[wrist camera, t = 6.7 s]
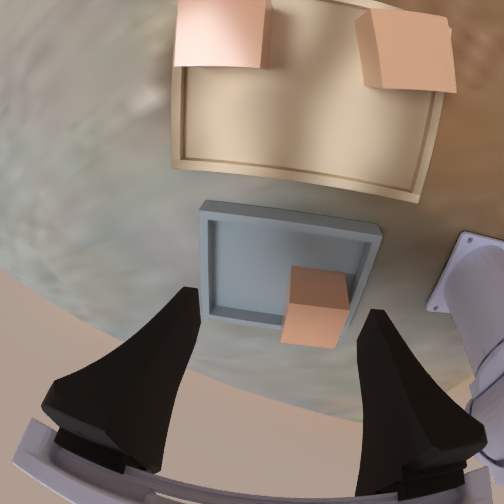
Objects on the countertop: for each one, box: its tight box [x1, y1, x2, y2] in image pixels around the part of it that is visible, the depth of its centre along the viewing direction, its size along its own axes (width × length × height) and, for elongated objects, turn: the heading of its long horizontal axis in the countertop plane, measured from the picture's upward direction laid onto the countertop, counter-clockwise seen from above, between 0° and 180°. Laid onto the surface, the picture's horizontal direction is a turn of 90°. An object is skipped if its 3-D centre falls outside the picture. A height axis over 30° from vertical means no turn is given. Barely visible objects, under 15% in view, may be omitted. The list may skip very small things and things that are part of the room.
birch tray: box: [171, 0, 451, 204], centre depth 14 cm, size 16×12×1 cm
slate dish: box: [199, 200, 383, 338], centre depth 22 cm, size 12×10×2 cm
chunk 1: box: [174, 0, 273, 70], centre depth 12 cm, size 4×4×4 cm
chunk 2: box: [280, 265, 350, 348], centre depth 21 cm, size 4×4×4 cm
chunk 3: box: [354, 8, 456, 93], centre depth 11 cm, size 4×4×4 cm
